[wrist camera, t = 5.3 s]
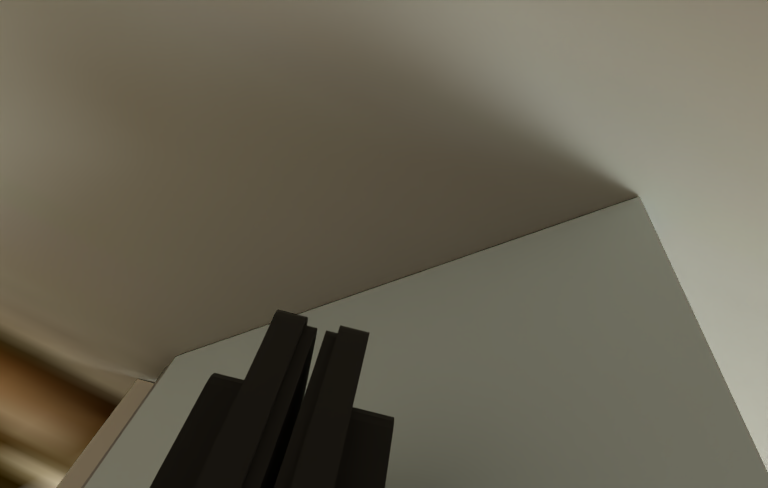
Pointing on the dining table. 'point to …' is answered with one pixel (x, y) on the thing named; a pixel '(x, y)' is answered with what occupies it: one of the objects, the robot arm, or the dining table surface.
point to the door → (511, 371)
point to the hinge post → (105, 436)
